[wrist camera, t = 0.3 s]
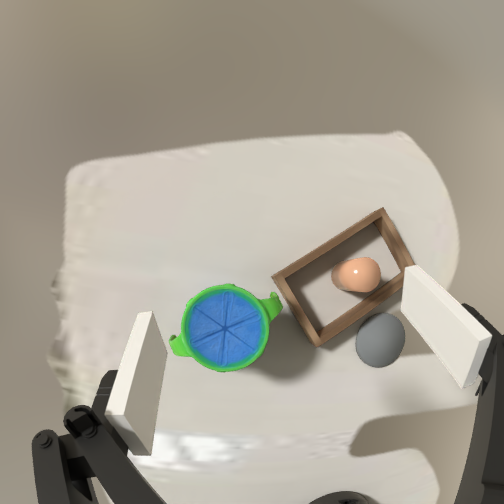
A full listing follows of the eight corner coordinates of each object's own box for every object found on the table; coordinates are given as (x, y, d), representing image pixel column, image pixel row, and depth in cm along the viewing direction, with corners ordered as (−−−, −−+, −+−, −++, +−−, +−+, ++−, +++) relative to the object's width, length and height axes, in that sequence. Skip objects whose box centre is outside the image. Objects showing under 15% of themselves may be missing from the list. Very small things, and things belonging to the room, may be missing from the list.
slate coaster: (410, 345, 49) (412, 345, 48) (370, 376, 48) (371, 377, 47) (389, 302, 49) (391, 302, 49) (346, 333, 48) (347, 334, 48)
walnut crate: (408, 274, 50) (418, 273, 46) (311, 342, 48) (317, 347, 44) (374, 211, 50) (383, 207, 47) (271, 276, 48) (274, 276, 45)
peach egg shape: (363, 280, 49) (386, 280, 41) (340, 295, 49) (360, 298, 41) (349, 255, 49) (370, 250, 41) (326, 270, 49) (343, 269, 41)
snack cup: (265, 269, 48) (274, 266, 38) (286, 335, 48) (300, 350, 38) (165, 300, 47) (149, 305, 37) (187, 366, 46) (177, 387, 36)
